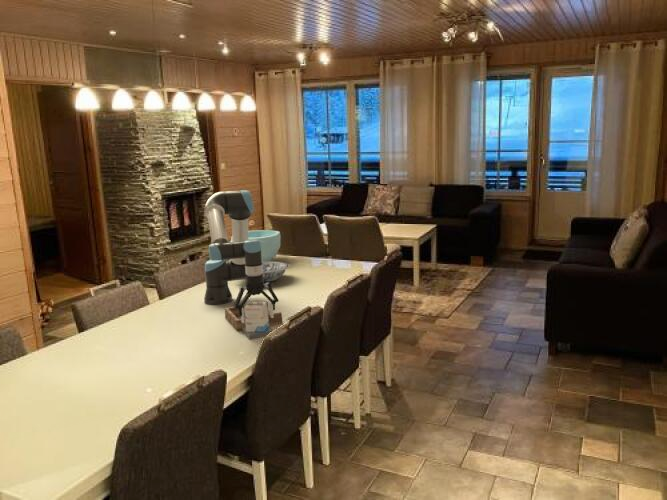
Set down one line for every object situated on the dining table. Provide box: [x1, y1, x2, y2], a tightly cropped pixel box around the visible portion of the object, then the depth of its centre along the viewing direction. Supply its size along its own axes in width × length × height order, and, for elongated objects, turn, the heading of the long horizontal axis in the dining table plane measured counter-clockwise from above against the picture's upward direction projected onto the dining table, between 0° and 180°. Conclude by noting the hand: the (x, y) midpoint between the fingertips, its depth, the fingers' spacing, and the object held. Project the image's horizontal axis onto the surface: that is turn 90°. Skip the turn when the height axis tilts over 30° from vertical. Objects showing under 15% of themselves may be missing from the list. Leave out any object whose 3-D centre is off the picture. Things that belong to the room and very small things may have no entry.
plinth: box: [242, 325, 275, 340], centre depth 257 cm, size 12×12×2 cm
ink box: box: [244, 301, 269, 332], centre depth 255 cm, size 9×8×13 cm
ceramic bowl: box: [262, 260, 290, 283], centre depth 350 cm, size 34×34×10 cm
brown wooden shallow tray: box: [224, 300, 283, 332], centre depth 275 cm, size 23×22×5 cm
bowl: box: [230, 229, 282, 261], centre depth 395 cm, size 35×35×22 cm
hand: (257, 319), depth 256 cm, fingers open, 13 cm apart
